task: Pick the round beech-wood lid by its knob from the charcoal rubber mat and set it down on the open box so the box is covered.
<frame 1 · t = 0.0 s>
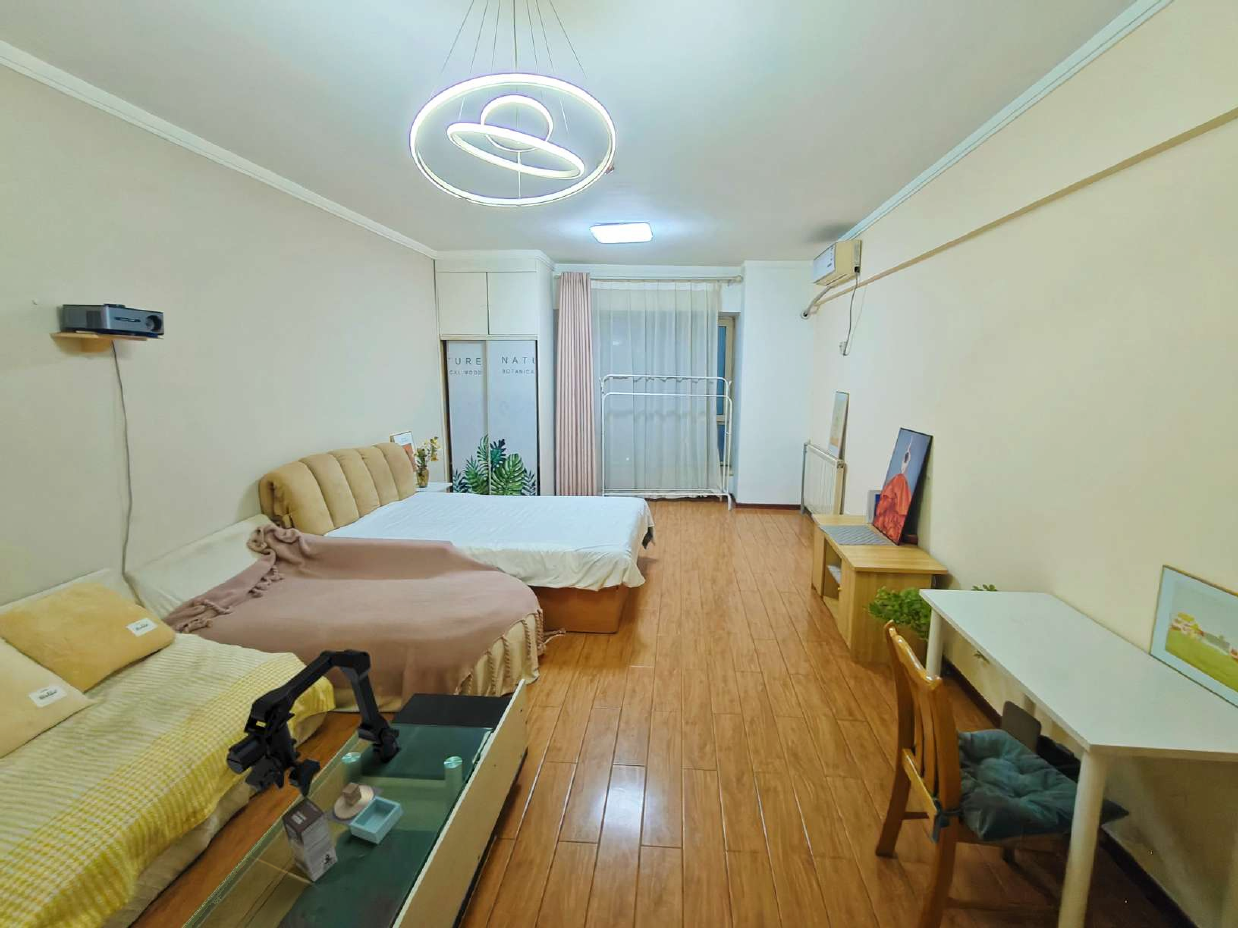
hand: (293, 791, 135), 15 cm above the table, fingers open, 9 cm apart
lid: (354, 803, 146), point 1 cm above the table, touching mat
coffee box: (317, 864, 130), on the table
open box: (378, 825, 139), on the table
mat: (354, 804, 146), on the table
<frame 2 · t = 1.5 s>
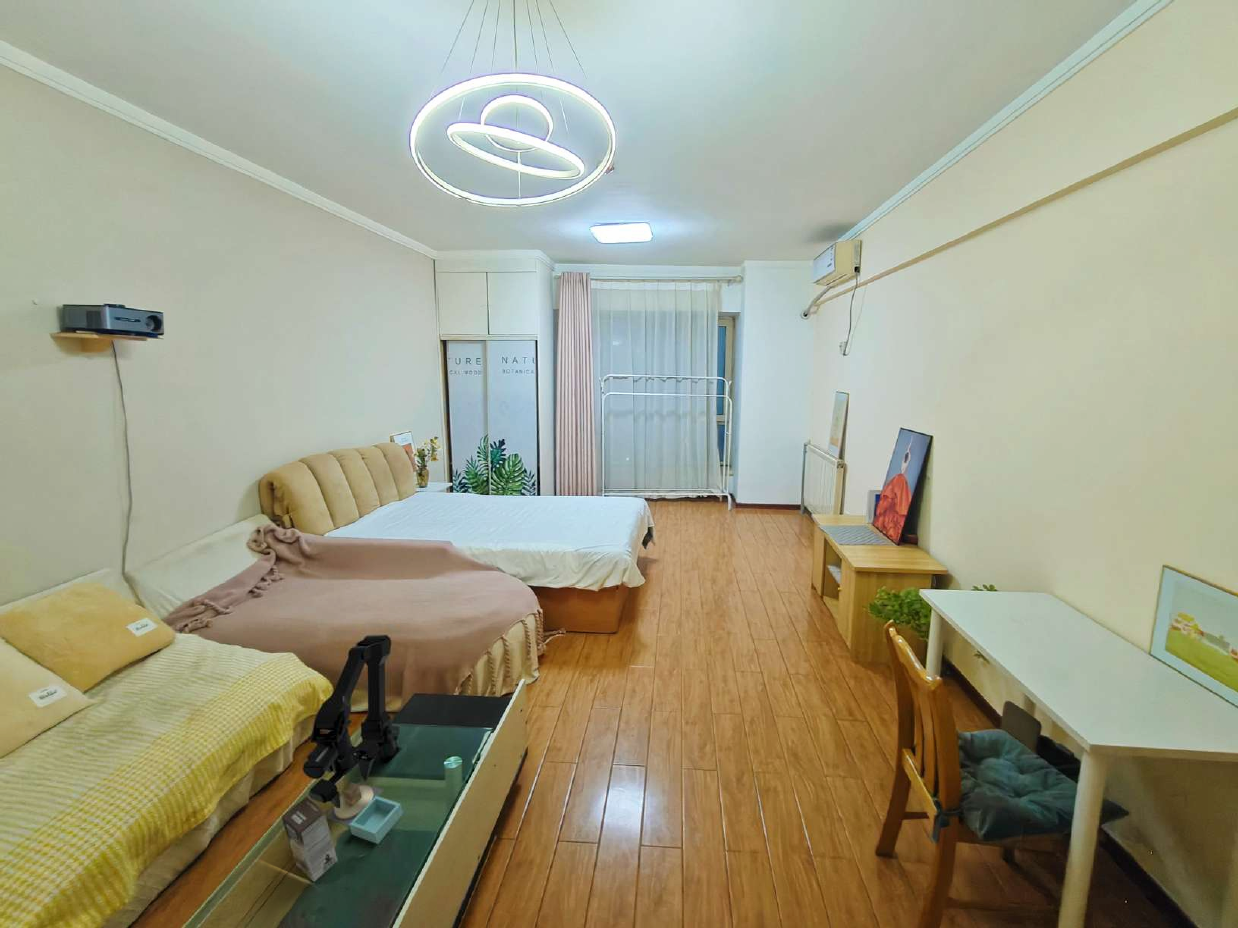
hand: (352, 793, 146), 4 cm above the table, fingers open, 9 cm apart
nothing on the table moved.
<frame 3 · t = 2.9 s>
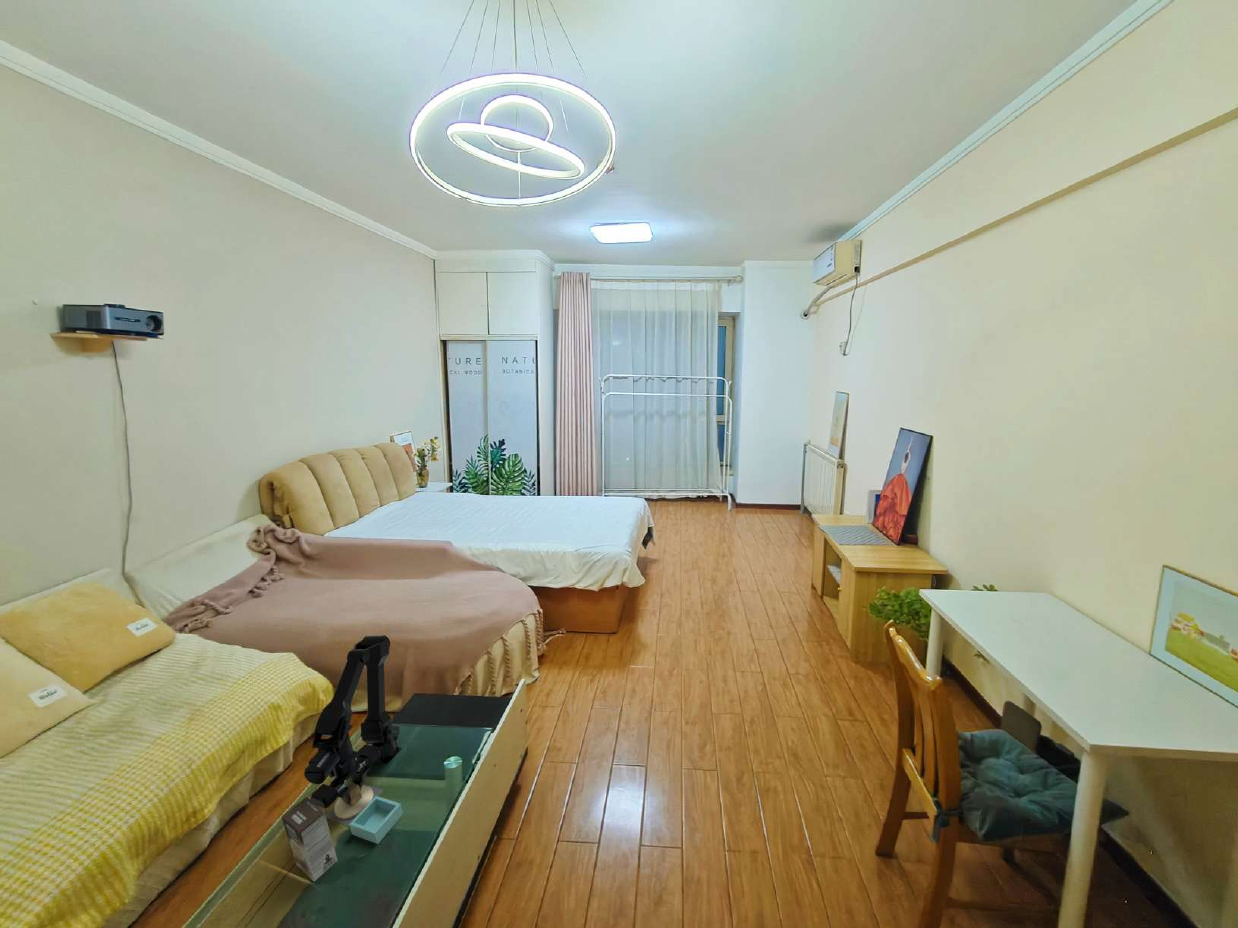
hand: (353, 798, 146), 2 cm above the table, fingers closed on lid, 3 cm apart
lid: (354, 803, 146), point 1 cm above the table, touching gripper, mat
everything else where it was.
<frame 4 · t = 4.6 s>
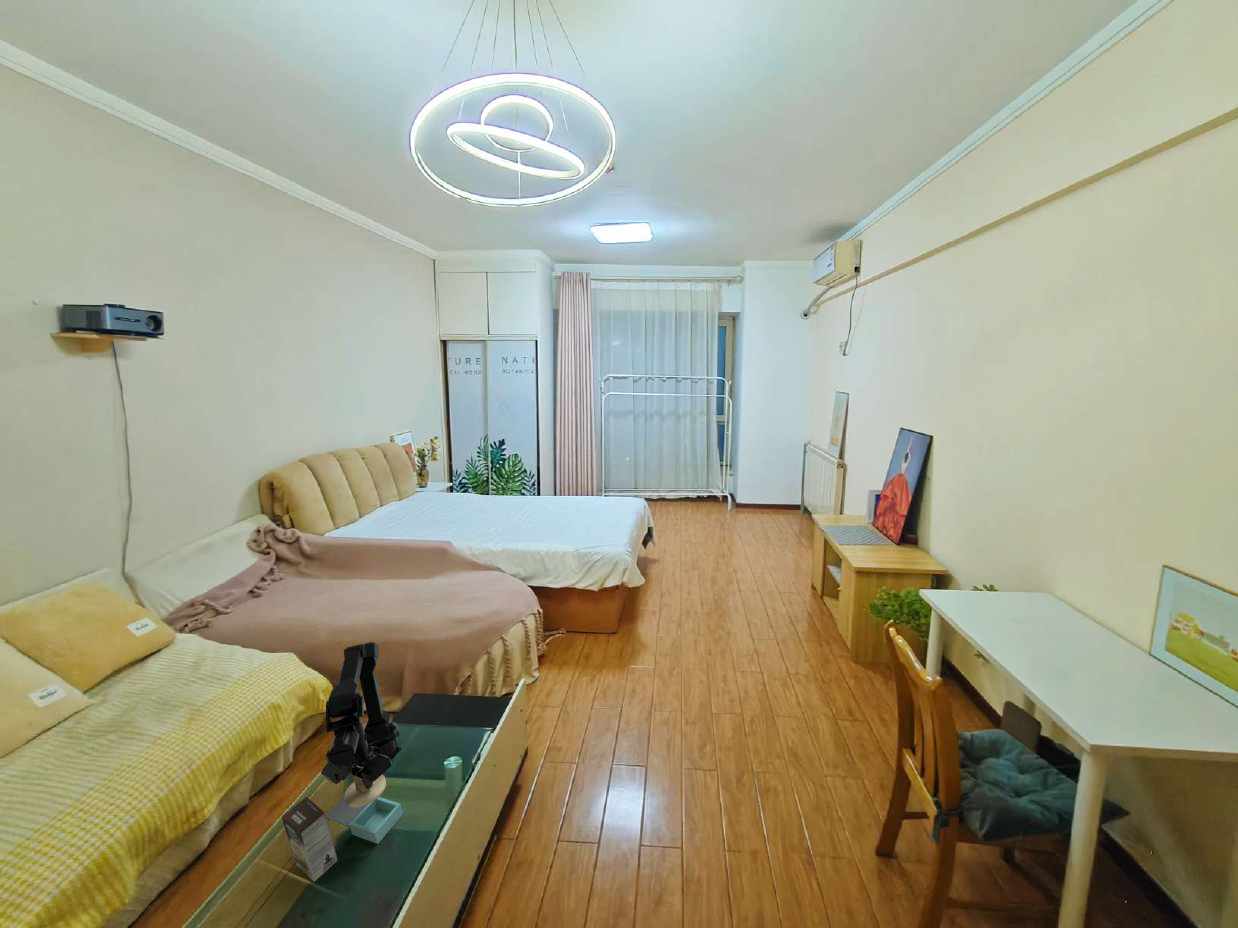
hand: (364, 785, 136), 13 cm above the table, fingers closed on lid, 3 cm apart
lid: (365, 790, 137), point 11 cm above the table, touching gripper
everything else where it was.
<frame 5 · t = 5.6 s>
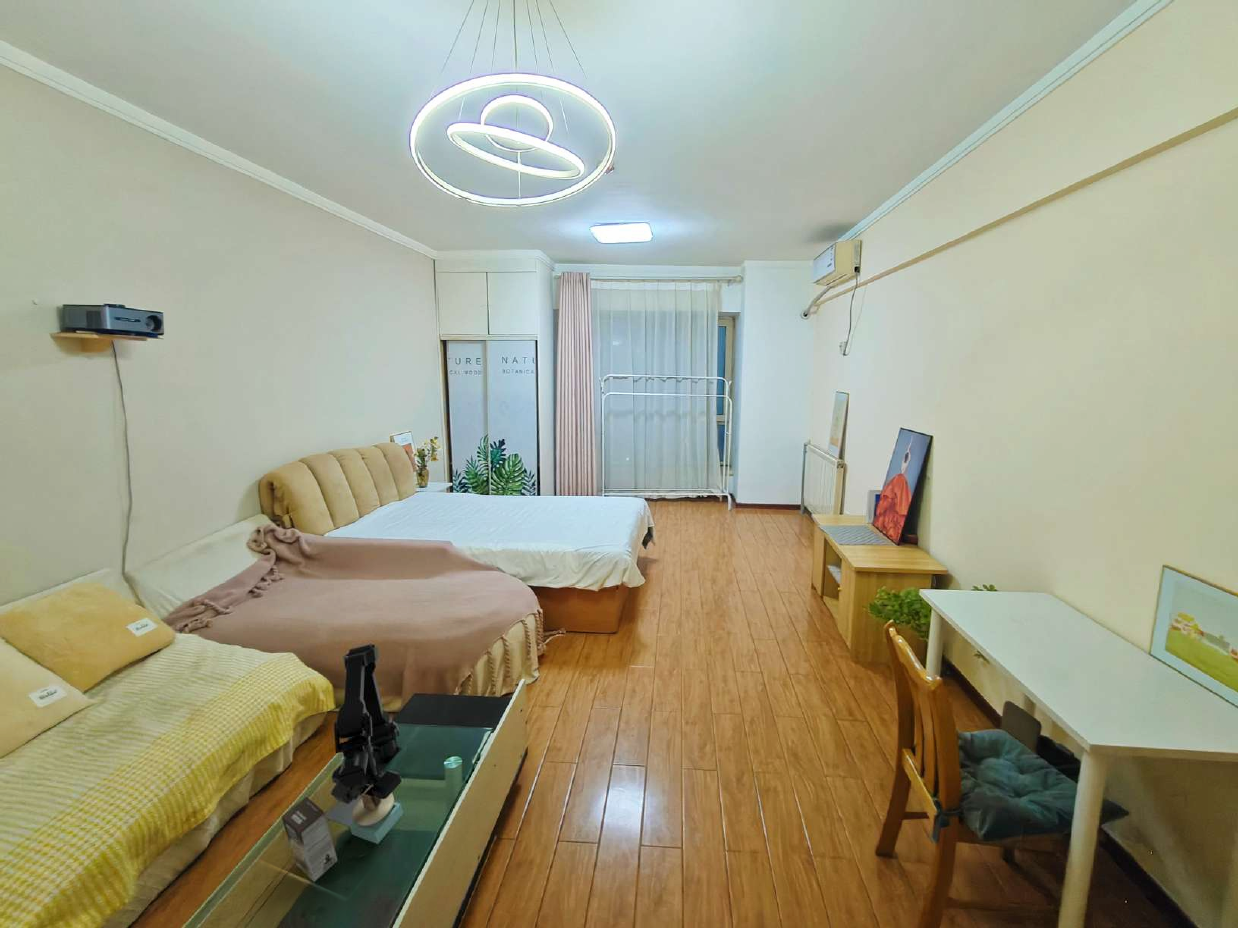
hand: (372, 803, 138), 7 cm above the table, fingers closed on lid, 3 cm apart
lid: (373, 808, 138), point 6 cm above the table, touching gripper
everything else where it was.
when the fingers open (7 cm above the table, at t = 6.4 s): lid stays where it is, resting on open box.
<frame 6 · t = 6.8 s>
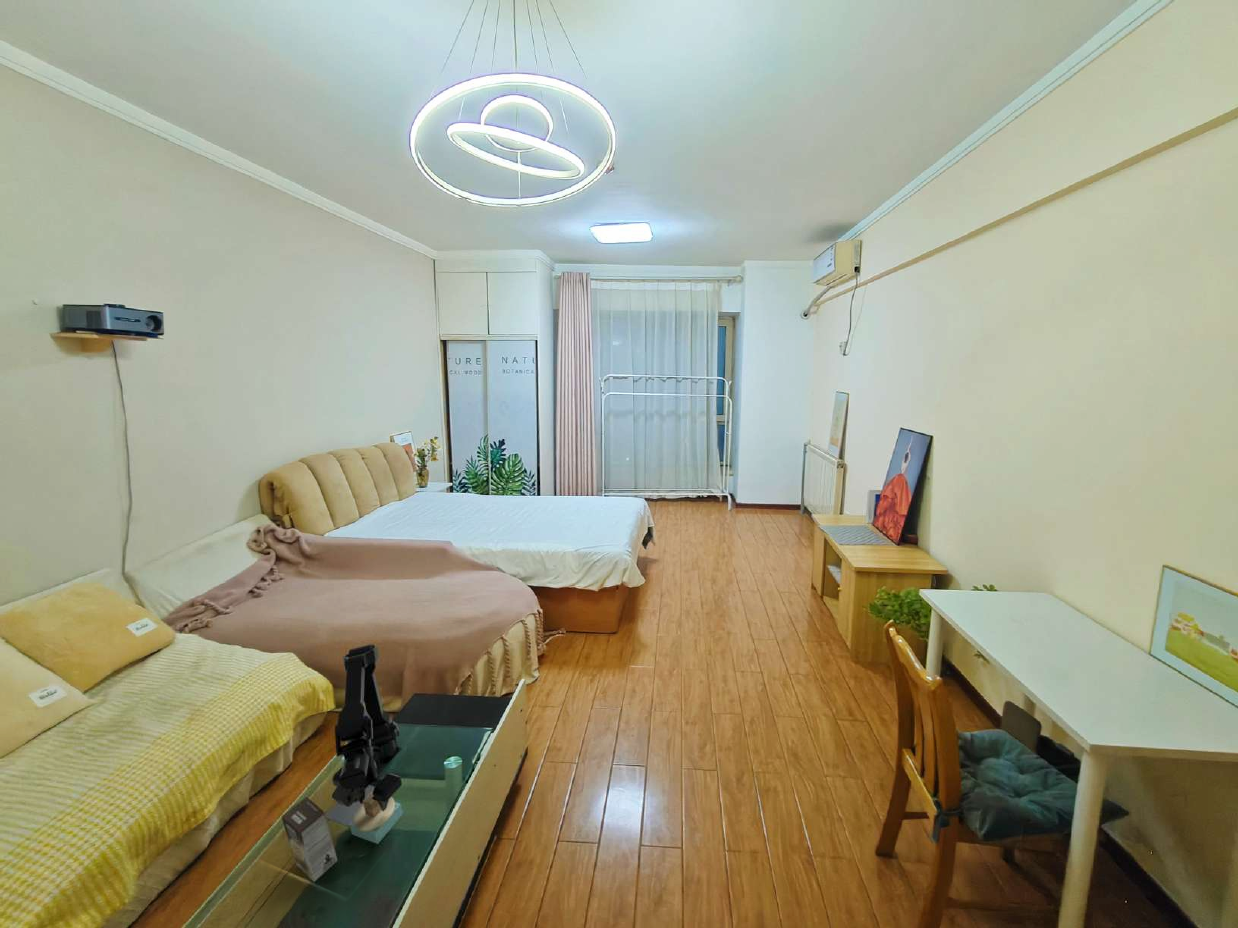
hand: (373, 805, 138), 7 cm above the table, fingers open, 7 cm apart
lid: (375, 813, 138), point 4 cm above the table, touching open box
everything else where it was.
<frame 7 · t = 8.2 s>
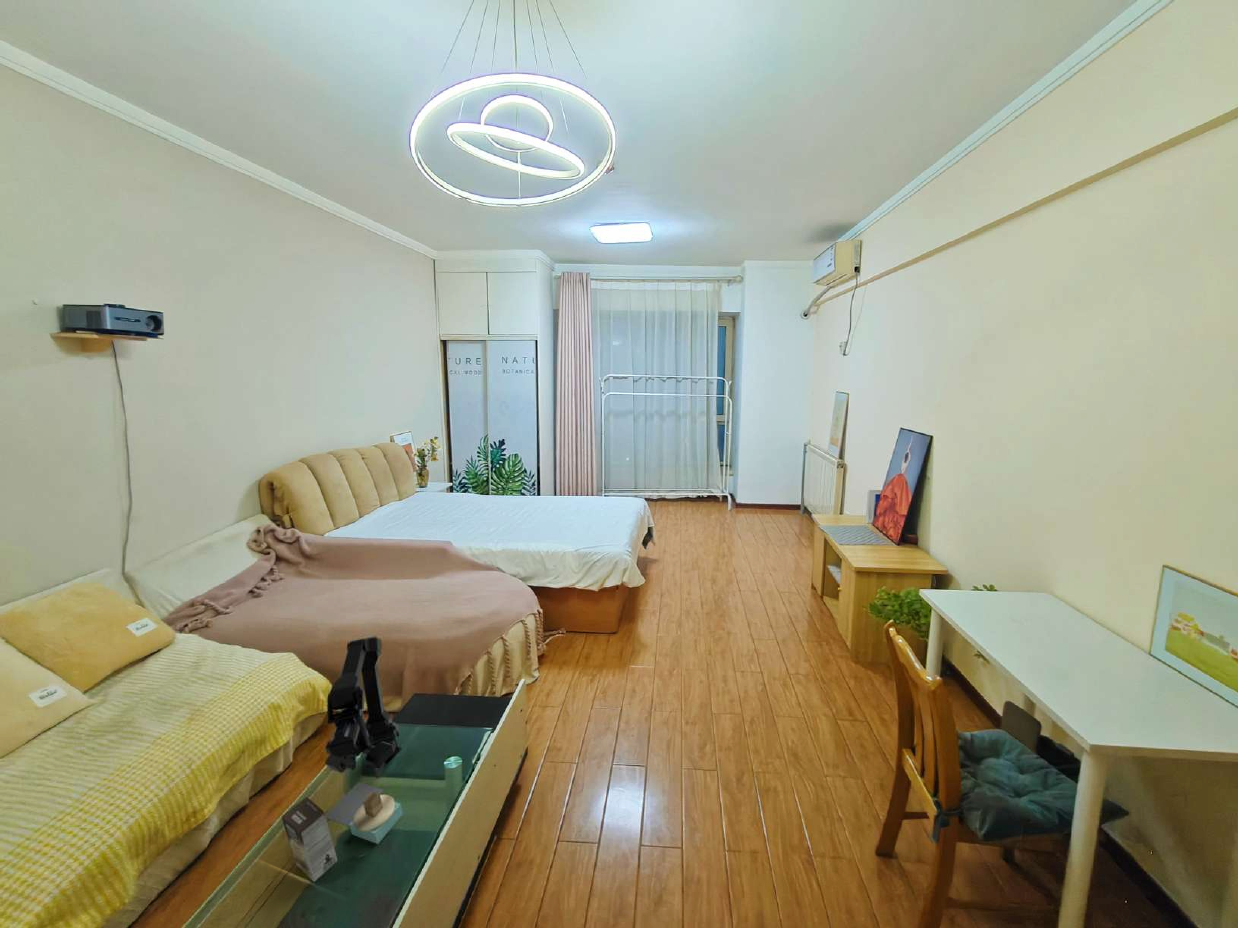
hand: (366, 773, 142), 12 cm above the table, fingers open, 9 cm apart
nothing on the table moved.
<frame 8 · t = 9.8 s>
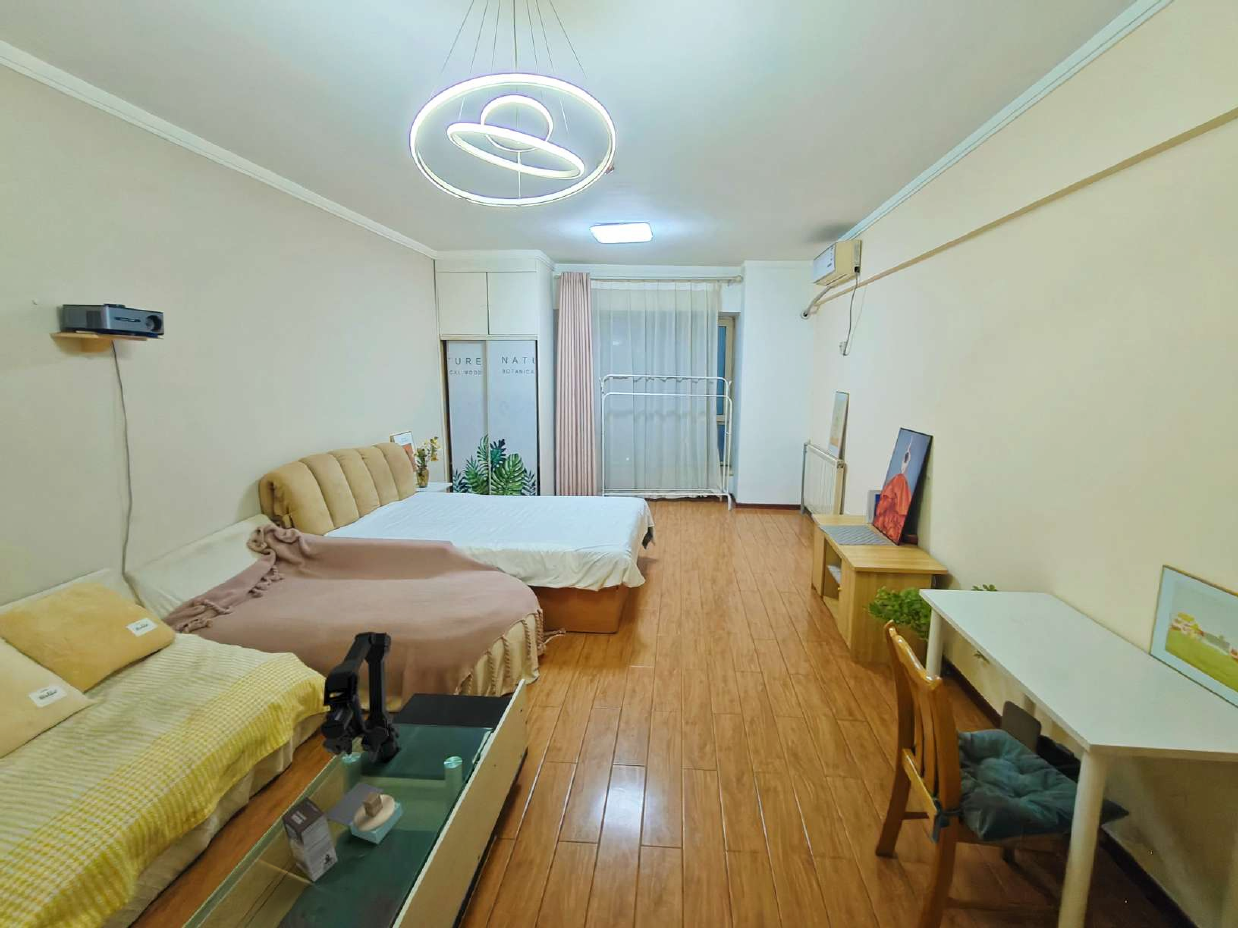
hand: (361, 757, 146), 13 cm above the table, fingers open, 9 cm apart
nothing on the table moved.
at the end: lid 0.0 cm off-centre on the open box, point 4.0 cm above the open box's base; lid tilted 0°; the gripper is holding nothing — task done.
